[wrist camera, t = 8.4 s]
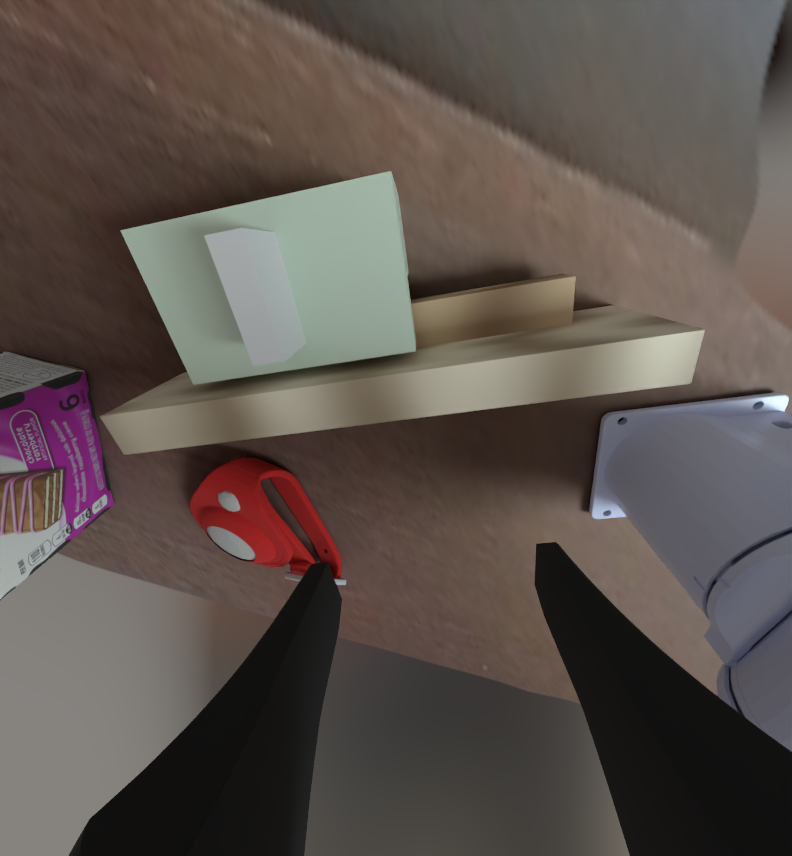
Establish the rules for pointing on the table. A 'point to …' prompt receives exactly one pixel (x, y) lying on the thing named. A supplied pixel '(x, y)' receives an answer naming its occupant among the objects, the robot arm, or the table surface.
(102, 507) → the candy bar box
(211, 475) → the tracker holder
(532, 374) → the wall board
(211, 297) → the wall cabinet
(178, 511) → the table surface
